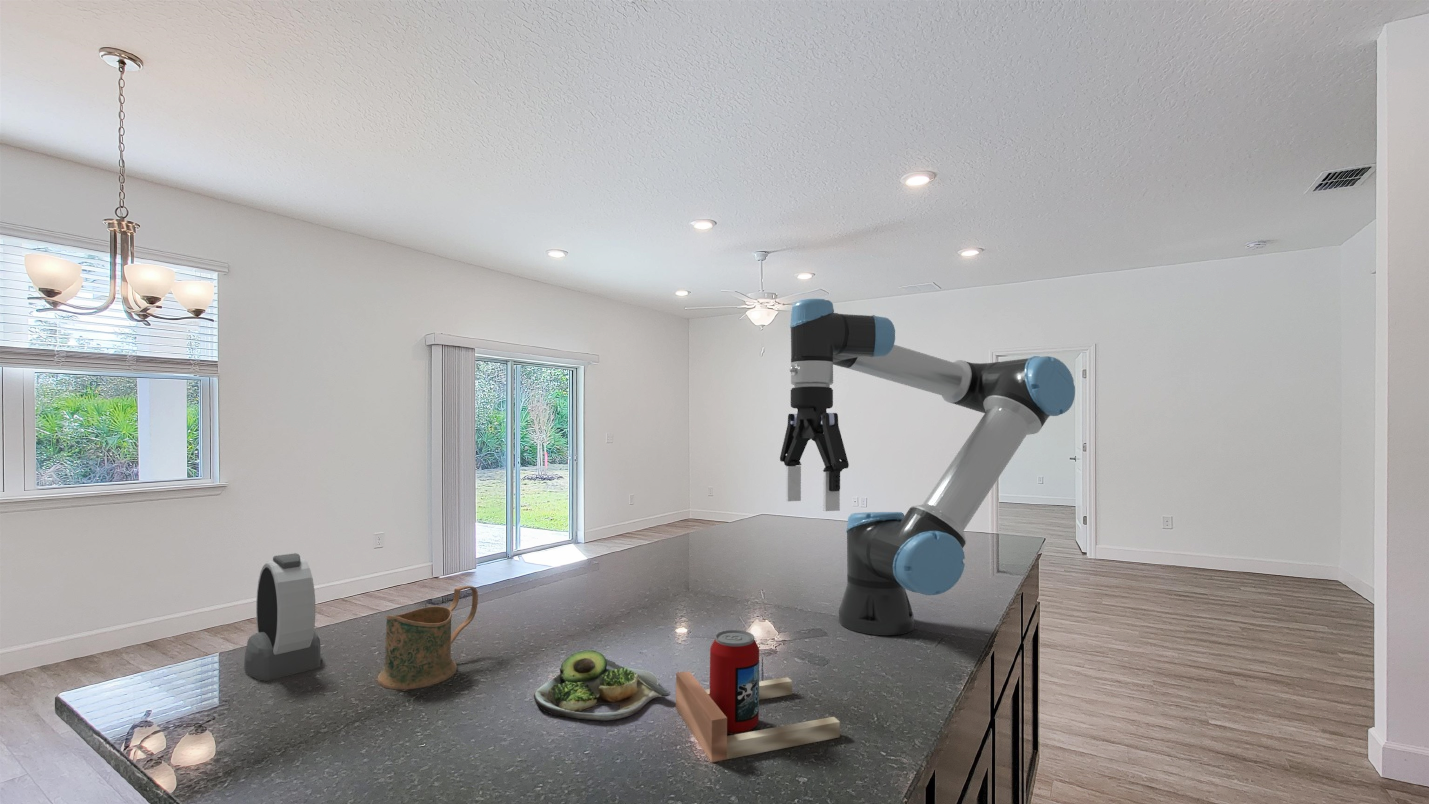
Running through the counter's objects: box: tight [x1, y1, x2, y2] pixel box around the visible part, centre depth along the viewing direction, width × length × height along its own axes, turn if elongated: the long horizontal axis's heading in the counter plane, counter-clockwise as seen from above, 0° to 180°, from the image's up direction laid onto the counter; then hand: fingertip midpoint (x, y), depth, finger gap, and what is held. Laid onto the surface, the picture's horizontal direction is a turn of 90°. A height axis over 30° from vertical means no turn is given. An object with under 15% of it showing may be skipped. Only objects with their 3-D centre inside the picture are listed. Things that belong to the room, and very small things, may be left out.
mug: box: [377, 585, 479, 690], centre depth 102 cm, size 12×18×12 cm, turn 155°
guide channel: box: [675, 670, 841, 763], centre depth 84 cm, size 18×15×5 cm
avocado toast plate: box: [533, 649, 671, 721], centre depth 92 cm, size 19×18×5 cm
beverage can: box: [709, 629, 760, 735], centre depth 83 cm, size 7×7×12 cm
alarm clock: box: [243, 552, 321, 681], centre depth 103 cm, size 16×10×18 cm, turn 47°
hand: (811, 505), depth 109 cm, fingers open, 13 cm apart
